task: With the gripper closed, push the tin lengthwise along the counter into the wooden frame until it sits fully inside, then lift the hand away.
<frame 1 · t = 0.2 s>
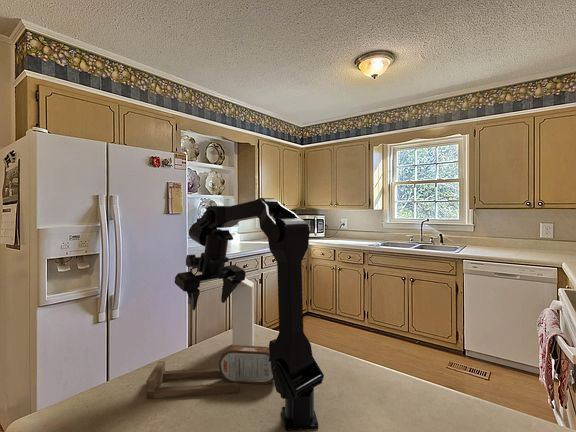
hand: (208, 305, 86), 15 cm above the countertop, tool pointing down, fingers open, 9 cm apart
wooden frame: (198, 384, 74), on the countertop
milk: (243, 347, 95), on the countertop
tin: (249, 382, 76), on the countertop
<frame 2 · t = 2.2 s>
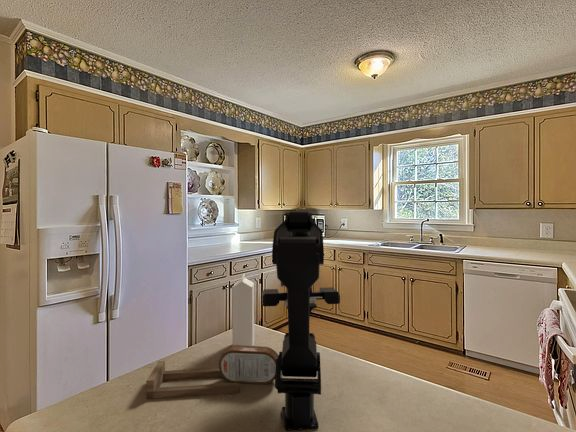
hand: (300, 331, 77), 12 cm above the countertop, tool pointing down, fingers closed
nothing on the countertop moved.
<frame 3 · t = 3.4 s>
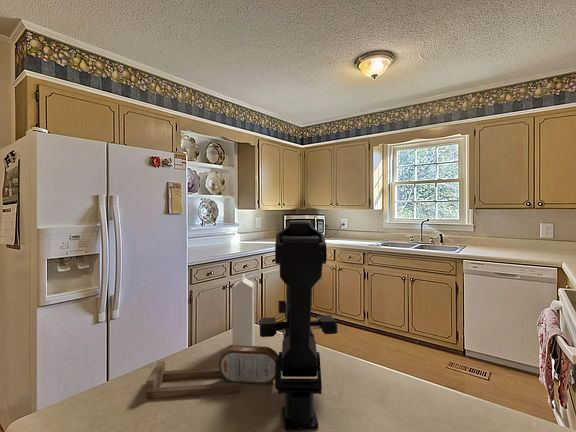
hand: (297, 360, 77), 4 cm above the countertop, tool pointing down, fingers closed
nothing on the countertop moved.
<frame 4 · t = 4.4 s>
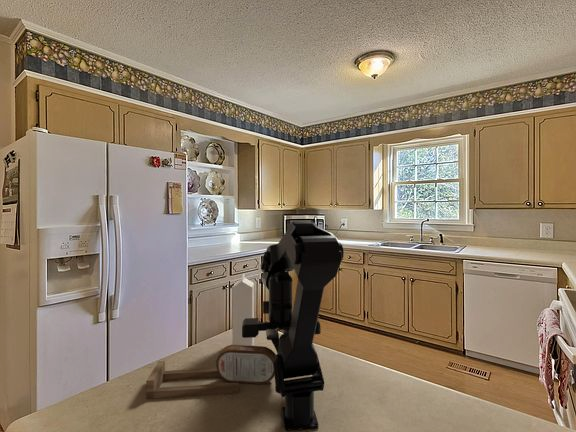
hand: (281, 360, 77), 5 cm above the countertop, tool pointing down, fingers closed
tin: (247, 382, 76), on the countertop, touching gripper
everything else where it was.
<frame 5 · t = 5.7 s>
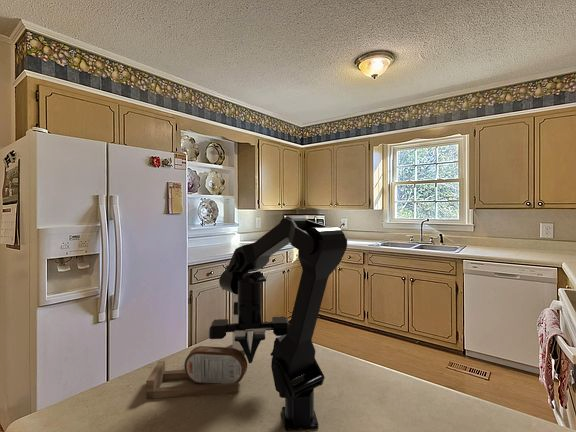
hand: (250, 362, 76), 5 cm above the countertop, tool pointing down, fingers closed
tin: (215, 383, 75), resting in wooden frame, touching gripper
everything else where it was.
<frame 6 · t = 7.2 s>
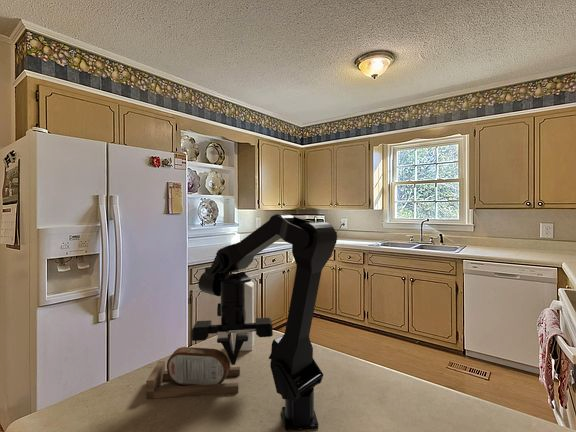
hand: (233, 364, 75), 4 cm above the countertop, tool pointing down, fingers closed
tin: (197, 385, 74), resting in wooden frame, touching gripper
everything else where it was.
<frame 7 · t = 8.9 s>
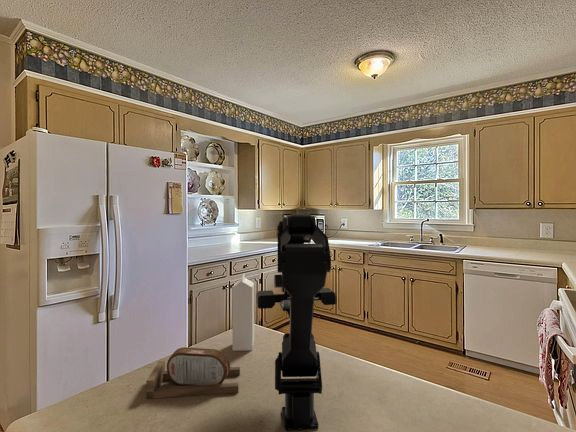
hand: (296, 333, 75), 12 cm above the countertop, tool pointing down, fingers closed
tin: (197, 385, 74), resting in wooden frame
everything else where it was.
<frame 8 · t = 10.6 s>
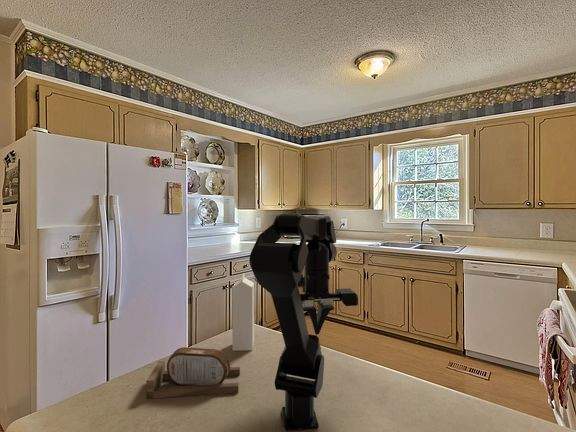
hand: (316, 333, 74), 12 cm above the countertop, tool pointing down, fingers closed
nothing on the countertop moved.
at the end: tin 0.3 cm off-centre on the wooden frame, point 0.0 cm above the wooden frame's base; tin tilted 0° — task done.
